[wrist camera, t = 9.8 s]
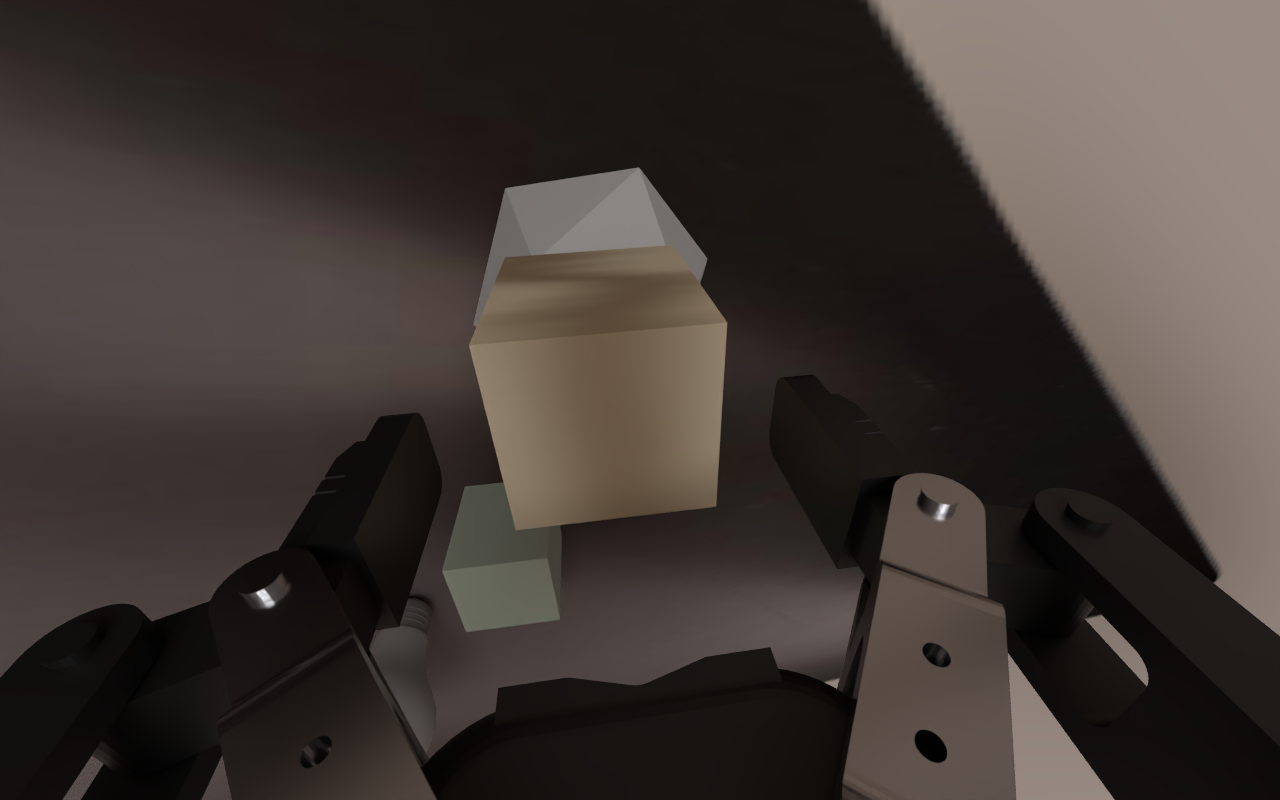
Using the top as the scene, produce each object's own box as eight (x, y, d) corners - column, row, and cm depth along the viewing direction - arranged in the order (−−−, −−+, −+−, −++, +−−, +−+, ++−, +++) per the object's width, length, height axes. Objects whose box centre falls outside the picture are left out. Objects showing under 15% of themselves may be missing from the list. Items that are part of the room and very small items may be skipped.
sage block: (483, 544, 31) (466, 632, 26) (465, 486, 28) (441, 570, 23) (561, 535, 31) (560, 619, 26) (551, 476, 29) (547, 557, 24)
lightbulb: (422, 558, 31) (359, 756, 22) (479, 607, 34) (446, 799, 25) (344, 593, 32) (250, 799, 22) (407, 638, 35) (348, 835, 26)
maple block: (531, 401, 17) (515, 530, 12) (504, 257, 14) (468, 345, 9) (673, 387, 17) (716, 506, 12) (672, 244, 15) (727, 322, 10)
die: (471, 167, 20) (401, 373, 16) (642, 60, 15) (599, 316, 12) (593, 278, 26) (563, 447, 23) (743, 226, 22) (735, 429, 18)
